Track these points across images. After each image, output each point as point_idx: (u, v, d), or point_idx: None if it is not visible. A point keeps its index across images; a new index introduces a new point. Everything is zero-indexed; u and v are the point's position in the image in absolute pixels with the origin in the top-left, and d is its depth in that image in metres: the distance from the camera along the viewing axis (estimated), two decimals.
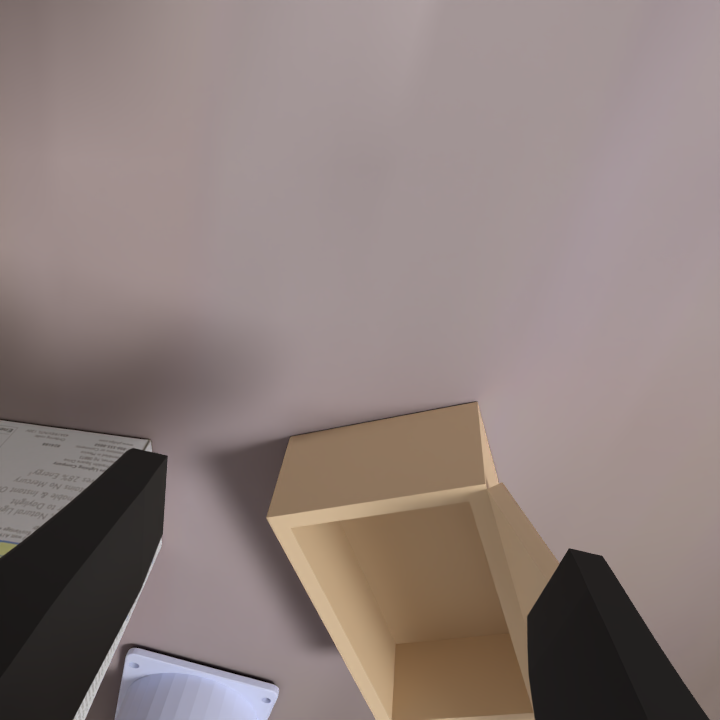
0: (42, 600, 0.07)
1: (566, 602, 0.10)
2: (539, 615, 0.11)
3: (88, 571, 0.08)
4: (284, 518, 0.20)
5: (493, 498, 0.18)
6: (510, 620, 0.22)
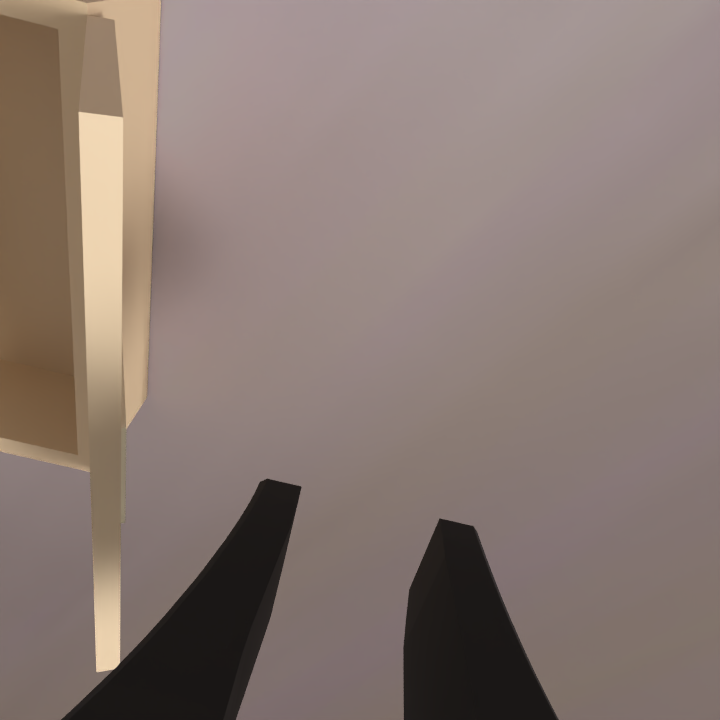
0: (234, 642, 0.07)
1: (432, 572, 0.10)
2: (415, 587, 0.11)
3: (259, 609, 0.08)
4: None
5: (88, 20, 0.12)
6: (76, 286, 0.16)
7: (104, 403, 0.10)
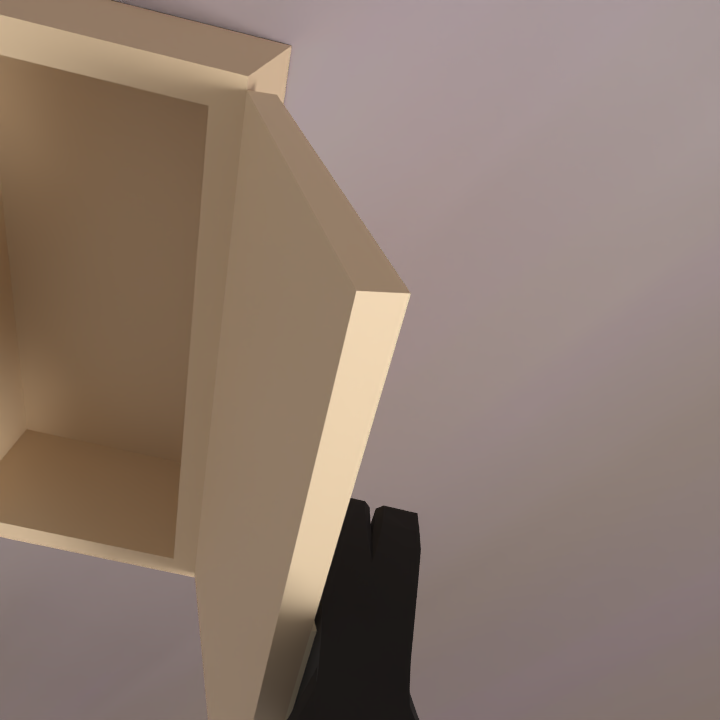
0: (399, 678, 0.07)
1: None
2: None
3: None
4: None
5: (251, 98, 0.10)
6: (194, 386, 0.14)
7: (298, 609, 0.08)
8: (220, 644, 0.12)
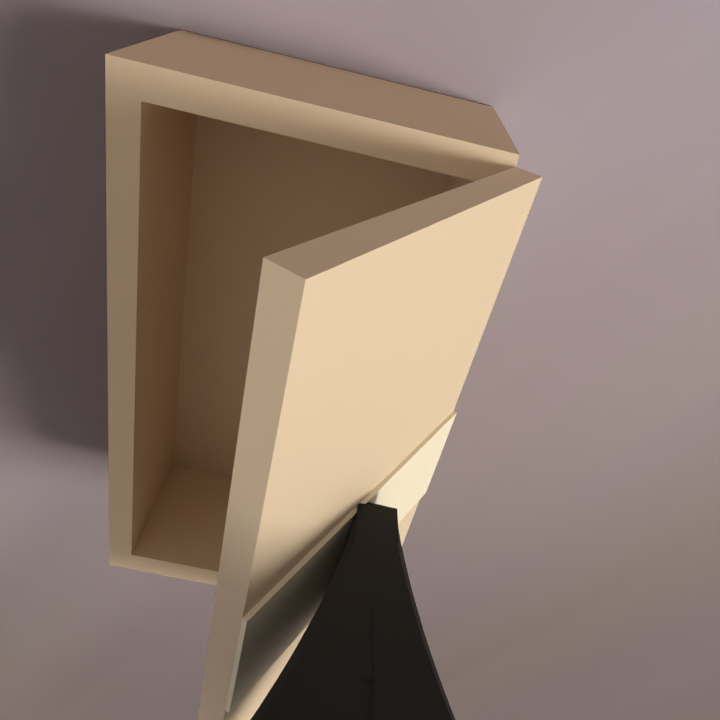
0: (371, 672, 0.07)
1: None
2: None
3: None
4: (139, 73, 0.10)
5: (506, 171, 0.10)
6: None
7: (232, 581, 0.08)
8: None
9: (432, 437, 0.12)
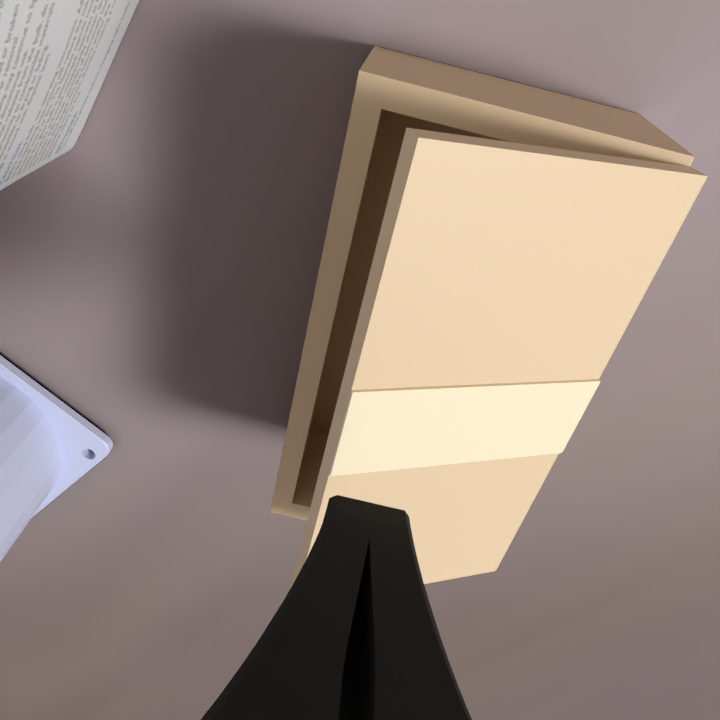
0: (333, 664, 0.07)
1: None
2: None
3: None
4: (384, 86, 0.13)
5: (674, 166, 0.13)
6: None
7: (353, 360, 0.13)
8: None
9: (564, 383, 0.15)
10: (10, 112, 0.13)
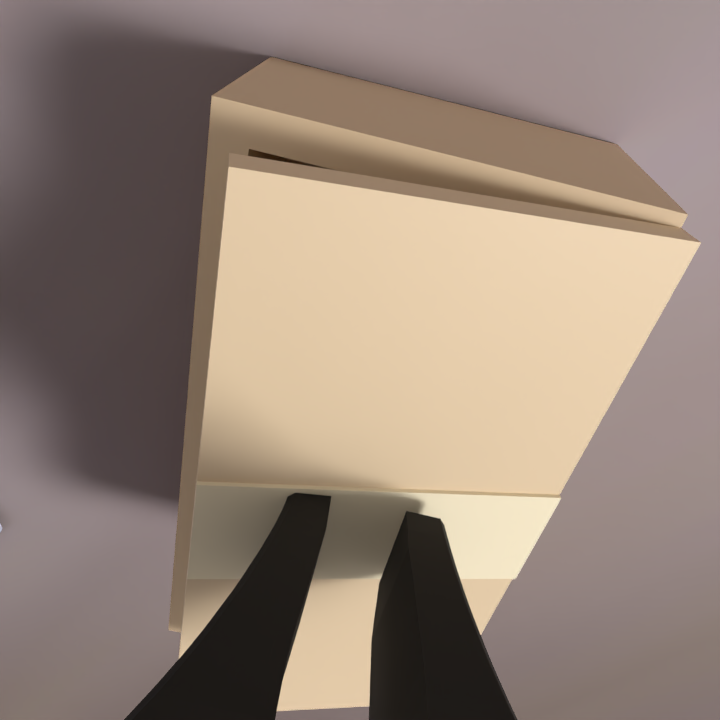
0: (277, 651, 0.07)
1: (397, 564, 0.10)
2: (384, 580, 0.11)
3: None
4: (249, 117, 0.09)
5: (656, 225, 0.09)
6: None
7: (200, 444, 0.10)
8: None
9: (507, 497, 0.11)
10: None
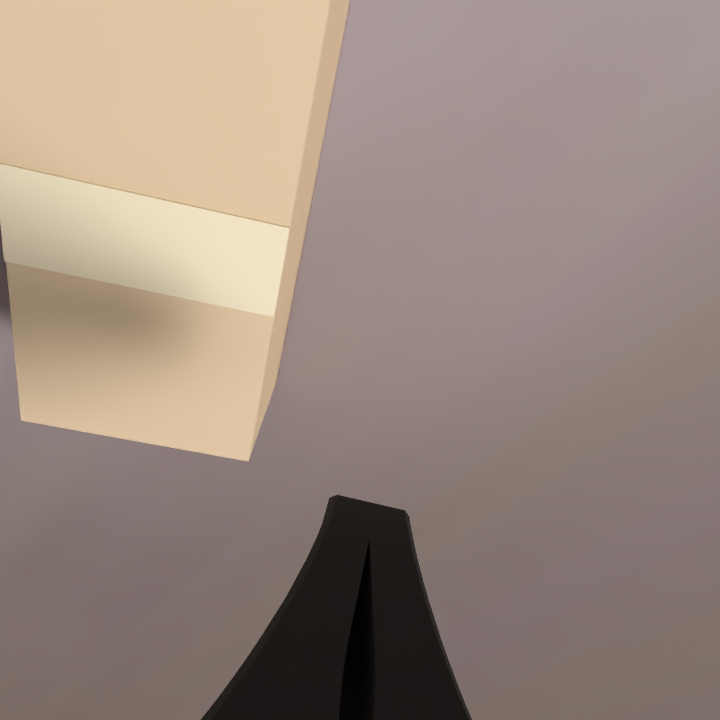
0: (333, 664, 0.07)
1: None
2: None
3: None
4: None
5: None
6: None
7: None
8: None
9: (242, 219, 0.14)
10: None
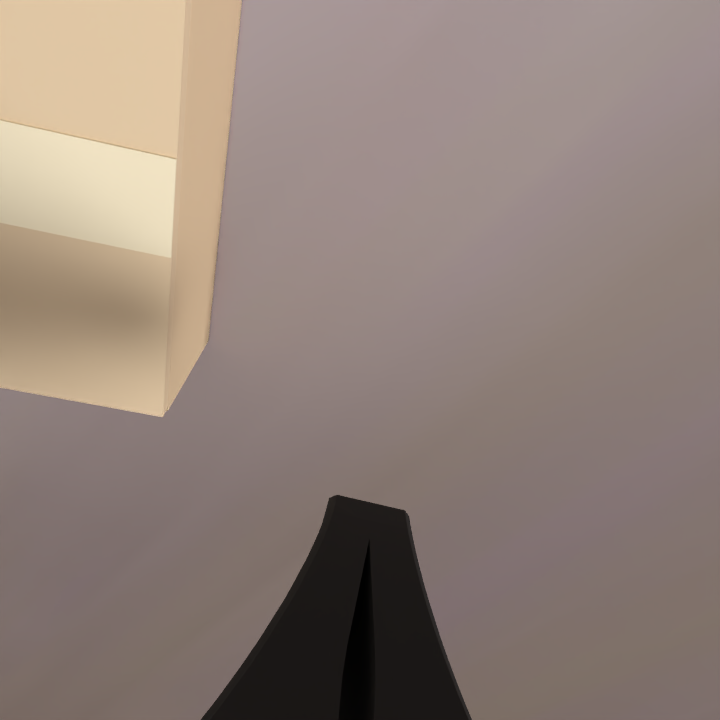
0: (333, 664, 0.07)
1: None
2: None
3: None
4: None
5: None
6: None
7: None
8: None
9: (125, 149, 0.14)
10: None
